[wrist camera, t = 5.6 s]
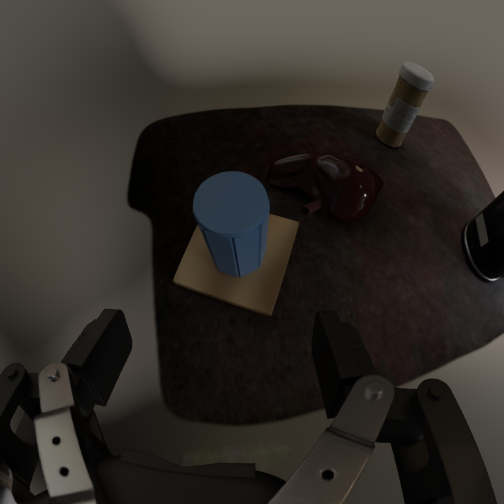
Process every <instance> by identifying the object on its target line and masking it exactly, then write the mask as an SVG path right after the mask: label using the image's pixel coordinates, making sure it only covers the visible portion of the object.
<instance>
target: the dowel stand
mask: <svg viewBox="0 0 504 504" xmlns="http://www.w3.org/2000/svg"><path fill="white" fill-rule="evenodd" d="M298 226H299V222H296V221H293V220H290V219H286V218H283V217H279V216H276V215H272V214H269V220H268V232H267V243H266V251H265V254H264V257H263V260H262V263H261V266H260V267H258V269H257V270H255V271H253V272H251V273H249V274H247V275H244V276H242V277H240V275H239V276H238V277H234V276H231V275H228V274H225V273H222V272H219V270H217V268H216V266H215V264H214V262H213V260H212V257H211V255H210V253H209V251H208V248H207V246H206V243H205V241H204V238H203V236H202V233H201V231H200V228H199V226H198V225H197V227H196V229H195V231H194V234H193V236H192V238H191V240H190V242H189V245H188V247H187V249H186V251H185V254H184V256H183V258H182V261H181V263H180V265H179V268H178V270H177V272H176V275H175V277H174V279H173V282H174V283H175V284H176V285H179V286H182V287H184V288H187V289H190V290H192V291H195V292H198V293H201V294H204V295H206V296H209V297H212V298H215V299H218V300H221V301H224V302H227V303H230V304H233V305H236V306H239V307H242V308H245V309H248V310H251V311H254V312H257V313H260V314H263V315H267V316H270V317H271V315H272V312H273V309H274V306H275V302H276V299H277V296H278V293H279V290H280V287H281V283H282V280H283V277H284V274H285V270H286V267H287V264H288V260H289V257H290V254H291V250H292V247H293V244H294V240H295V237H296V233H297V230H298Z"/></svg>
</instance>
